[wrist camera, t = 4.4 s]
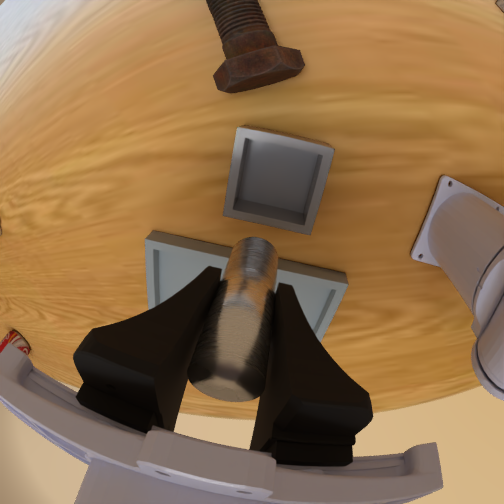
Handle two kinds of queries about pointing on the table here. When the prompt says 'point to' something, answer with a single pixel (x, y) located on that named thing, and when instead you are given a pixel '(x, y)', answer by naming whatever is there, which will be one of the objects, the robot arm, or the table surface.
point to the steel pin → (238, 326)
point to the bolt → (250, 48)
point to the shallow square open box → (277, 178)
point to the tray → (207, 254)
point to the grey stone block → (500, 4)
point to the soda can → (15, 342)
